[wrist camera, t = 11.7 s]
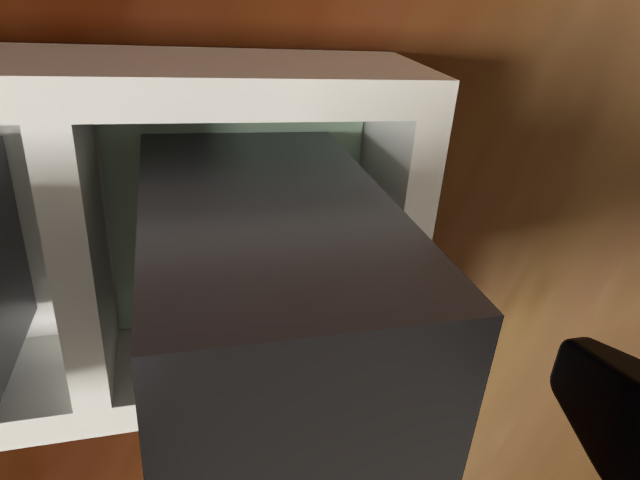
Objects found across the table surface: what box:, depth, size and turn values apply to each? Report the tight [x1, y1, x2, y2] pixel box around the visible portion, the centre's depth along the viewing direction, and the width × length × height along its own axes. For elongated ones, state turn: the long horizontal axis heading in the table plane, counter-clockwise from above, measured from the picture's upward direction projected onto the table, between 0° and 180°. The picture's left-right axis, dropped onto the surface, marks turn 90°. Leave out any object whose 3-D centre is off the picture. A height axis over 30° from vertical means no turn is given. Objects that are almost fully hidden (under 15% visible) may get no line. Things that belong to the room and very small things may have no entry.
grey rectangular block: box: [130, 132, 504, 480], centre depth 11 cm, size 4×4×8 cm
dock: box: [0, 42, 460, 451], centre depth 12 cm, size 8×15×4 cm, turn 86°
